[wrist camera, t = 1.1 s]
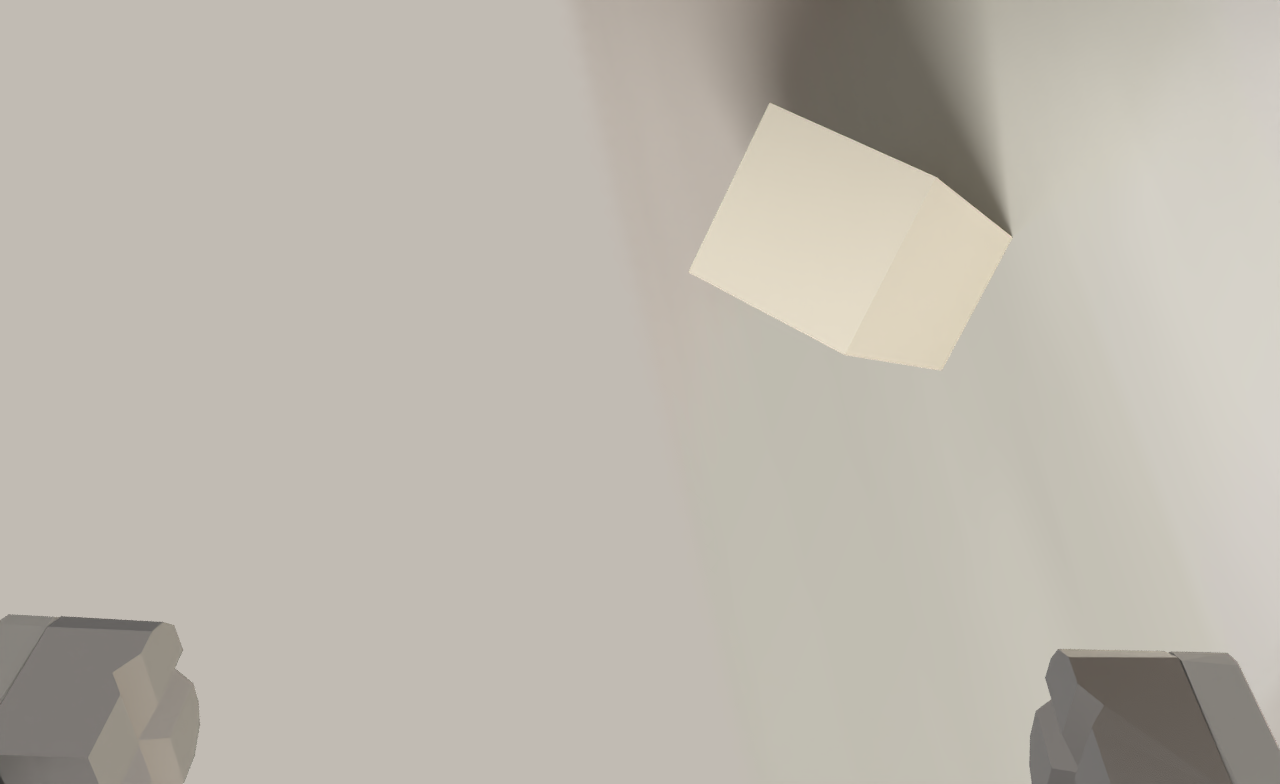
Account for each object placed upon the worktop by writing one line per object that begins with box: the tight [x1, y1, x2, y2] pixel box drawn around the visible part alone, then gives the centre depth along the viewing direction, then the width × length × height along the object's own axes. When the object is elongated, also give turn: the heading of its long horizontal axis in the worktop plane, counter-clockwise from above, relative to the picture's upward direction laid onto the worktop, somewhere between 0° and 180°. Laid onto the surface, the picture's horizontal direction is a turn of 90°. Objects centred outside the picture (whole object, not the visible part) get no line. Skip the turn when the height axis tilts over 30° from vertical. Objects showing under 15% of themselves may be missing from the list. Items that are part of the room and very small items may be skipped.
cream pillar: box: [689, 103, 1013, 371], centre depth 33 cm, size 4×4×10 cm
